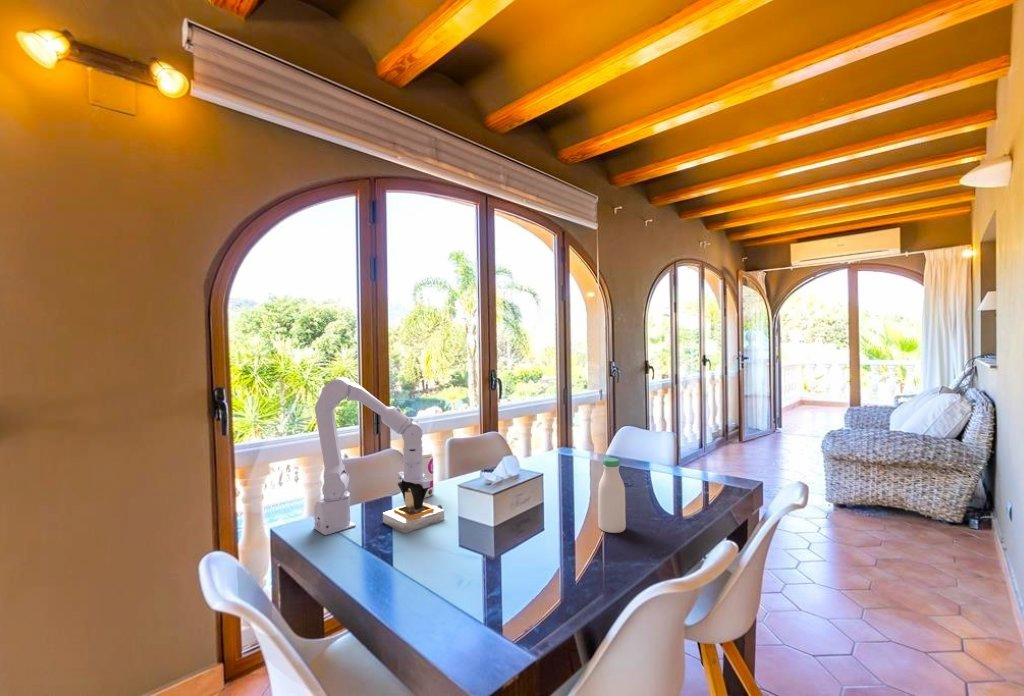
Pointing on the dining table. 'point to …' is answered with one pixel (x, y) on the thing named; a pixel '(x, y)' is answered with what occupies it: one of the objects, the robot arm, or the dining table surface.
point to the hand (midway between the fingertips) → (413, 506)
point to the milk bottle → (611, 498)
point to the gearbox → (413, 517)
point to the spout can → (410, 503)
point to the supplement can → (428, 471)
